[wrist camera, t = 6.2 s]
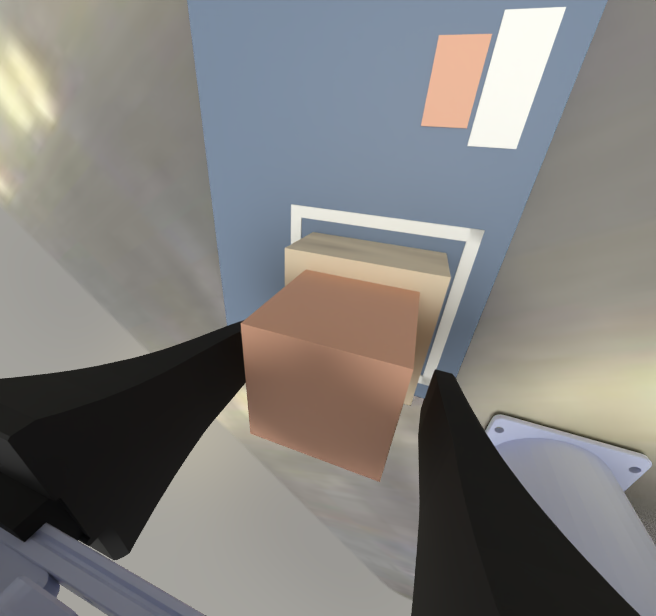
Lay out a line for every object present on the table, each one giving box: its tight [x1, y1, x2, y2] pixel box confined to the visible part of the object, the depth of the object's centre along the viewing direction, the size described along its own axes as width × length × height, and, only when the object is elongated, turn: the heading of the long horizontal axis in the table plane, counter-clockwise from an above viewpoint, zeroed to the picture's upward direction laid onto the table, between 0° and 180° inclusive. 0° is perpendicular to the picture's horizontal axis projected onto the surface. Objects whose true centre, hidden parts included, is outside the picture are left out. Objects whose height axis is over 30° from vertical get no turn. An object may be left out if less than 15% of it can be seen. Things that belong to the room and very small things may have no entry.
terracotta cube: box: [241, 270, 420, 482], centre depth 11 cm, size 5×5×5 cm
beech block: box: [285, 232, 451, 406], centre depth 14 cm, size 7×7×4 cm
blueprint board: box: [187, 0, 608, 399], centre depth 15 cm, size 20×16×1 cm
